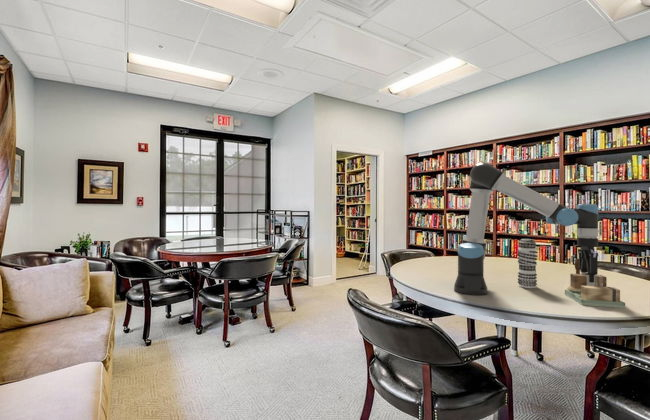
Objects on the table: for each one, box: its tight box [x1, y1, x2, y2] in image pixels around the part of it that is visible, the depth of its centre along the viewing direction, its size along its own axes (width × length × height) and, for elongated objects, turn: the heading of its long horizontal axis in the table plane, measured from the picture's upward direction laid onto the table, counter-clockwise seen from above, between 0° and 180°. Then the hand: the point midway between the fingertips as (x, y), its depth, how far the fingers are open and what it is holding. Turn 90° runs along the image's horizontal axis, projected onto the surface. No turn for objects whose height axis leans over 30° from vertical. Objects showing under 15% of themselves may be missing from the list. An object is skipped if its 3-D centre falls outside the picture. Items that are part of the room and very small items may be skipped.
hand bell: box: [566, 258, 581, 291], centre depth 160 cm, size 8×8×16 cm
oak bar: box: [581, 285, 621, 302], centre depth 136 cm, size 12×5×6 cm, turn 72°
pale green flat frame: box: [564, 289, 626, 309], centre depth 141 cm, size 15×17×2 cm
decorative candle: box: [516, 238, 539, 289], centre depth 167 cm, size 9×9×25 cm
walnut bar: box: [569, 273, 608, 289], centre depth 146 cm, size 12×5×6 cm, turn 72°
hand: (587, 287), depth 146 cm, fingers closed on walnut bar, 4 cm apart
